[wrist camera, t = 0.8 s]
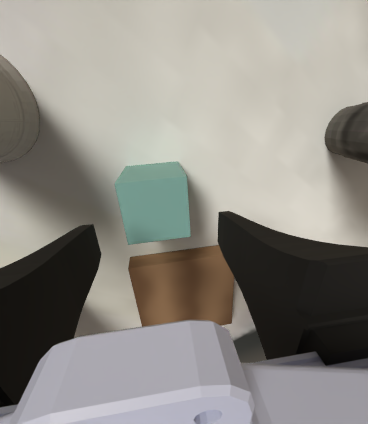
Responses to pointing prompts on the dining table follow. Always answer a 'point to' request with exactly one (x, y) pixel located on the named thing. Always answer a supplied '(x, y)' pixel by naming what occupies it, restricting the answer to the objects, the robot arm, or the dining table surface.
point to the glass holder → (16, 114)
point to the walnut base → (183, 286)
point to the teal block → (154, 202)
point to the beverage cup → (349, 133)
